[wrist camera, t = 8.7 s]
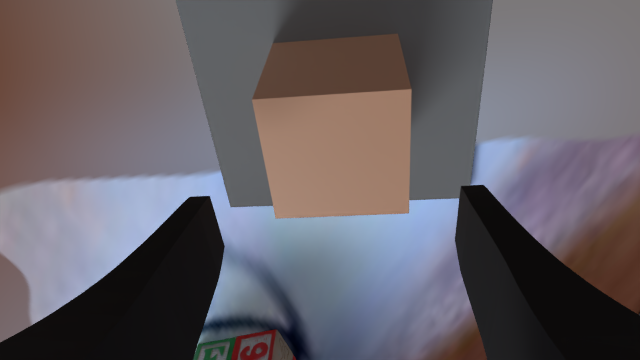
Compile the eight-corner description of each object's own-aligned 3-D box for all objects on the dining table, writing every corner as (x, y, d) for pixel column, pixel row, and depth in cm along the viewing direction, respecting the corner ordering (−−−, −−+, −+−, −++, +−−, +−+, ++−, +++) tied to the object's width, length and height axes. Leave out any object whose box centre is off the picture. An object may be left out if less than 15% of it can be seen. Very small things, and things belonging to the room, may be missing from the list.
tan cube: (397, 33, 18) (411, 89, 14) (397, 141, 21) (408, 213, 17) (272, 43, 19) (251, 99, 15) (289, 147, 22) (275, 218, 18)
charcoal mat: (497, -80, 16) (502, -78, 16) (466, 190, 23) (468, 197, 23) (168, -49, 18) (163, -46, 17) (232, 199, 25) (230, 207, 24)
